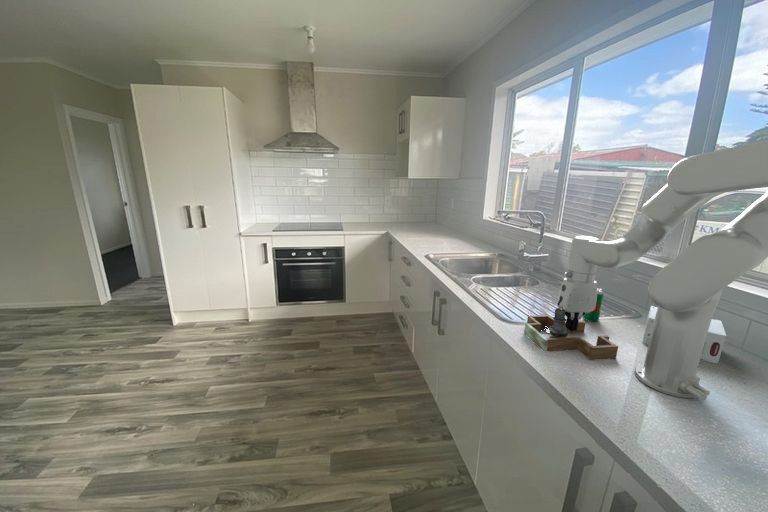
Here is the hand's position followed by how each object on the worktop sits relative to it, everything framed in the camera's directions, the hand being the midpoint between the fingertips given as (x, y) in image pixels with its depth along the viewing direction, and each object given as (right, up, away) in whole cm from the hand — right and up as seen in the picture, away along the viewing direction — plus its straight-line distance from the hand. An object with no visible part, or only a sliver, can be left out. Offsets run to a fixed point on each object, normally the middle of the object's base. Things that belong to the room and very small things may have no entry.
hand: (570, 328), depth 99 cm
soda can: (+17, 0, +15) cm, 23 cm away
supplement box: (+33, -5, -2) cm, 33 cm away
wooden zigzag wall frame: (-2, -4, 0) cm, 4 cm away
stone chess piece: (-4, -4, +1) cm, 5 cm away
